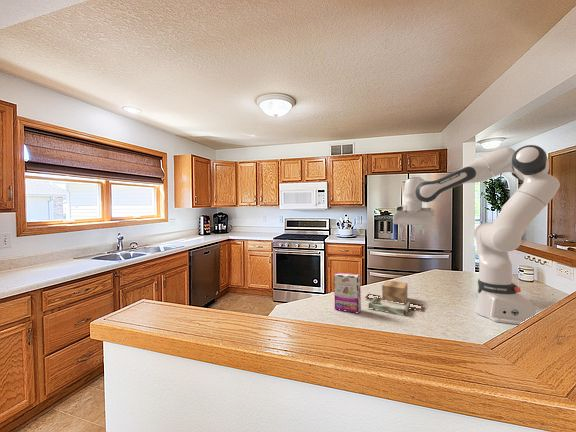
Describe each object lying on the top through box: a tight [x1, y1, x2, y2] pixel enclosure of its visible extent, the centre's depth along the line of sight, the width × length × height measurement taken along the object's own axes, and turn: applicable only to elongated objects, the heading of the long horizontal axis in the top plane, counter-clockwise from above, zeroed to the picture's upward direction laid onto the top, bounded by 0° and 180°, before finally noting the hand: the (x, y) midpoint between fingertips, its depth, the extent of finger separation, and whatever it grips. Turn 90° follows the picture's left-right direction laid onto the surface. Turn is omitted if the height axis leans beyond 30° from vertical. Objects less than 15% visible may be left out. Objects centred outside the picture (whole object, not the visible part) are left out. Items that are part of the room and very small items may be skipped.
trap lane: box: [364, 293, 424, 316], centre depth 128 cm, size 26×18×2 cm
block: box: [381, 279, 409, 303], centre depth 136 cm, size 10×10×8 cm
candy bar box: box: [333, 272, 362, 314], centre depth 124 cm, size 11×5×16 cm, turn 62°
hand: (412, 233), depth 147 cm, fingers open, 8 cm apart
